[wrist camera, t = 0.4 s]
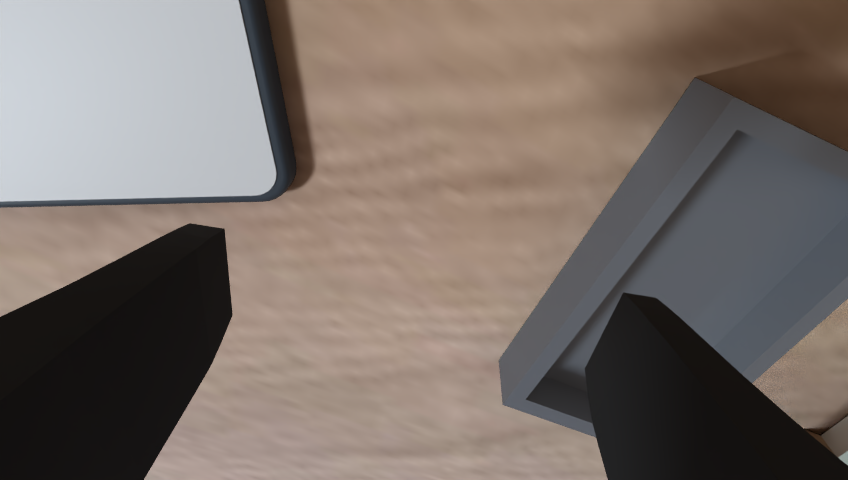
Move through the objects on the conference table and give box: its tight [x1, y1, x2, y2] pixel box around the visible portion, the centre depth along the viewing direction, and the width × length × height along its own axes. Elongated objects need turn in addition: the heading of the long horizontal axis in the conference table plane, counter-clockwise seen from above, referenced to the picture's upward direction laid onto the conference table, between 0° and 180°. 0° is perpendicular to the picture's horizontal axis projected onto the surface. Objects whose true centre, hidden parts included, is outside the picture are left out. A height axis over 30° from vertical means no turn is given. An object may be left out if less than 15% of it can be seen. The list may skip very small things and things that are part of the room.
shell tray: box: [499, 78, 848, 437], centre depth 18 cm, size 14×8×3 cm, turn 158°
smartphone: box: [0, 0, 296, 207], centre depth 17 cm, size 9×2×16 cm
